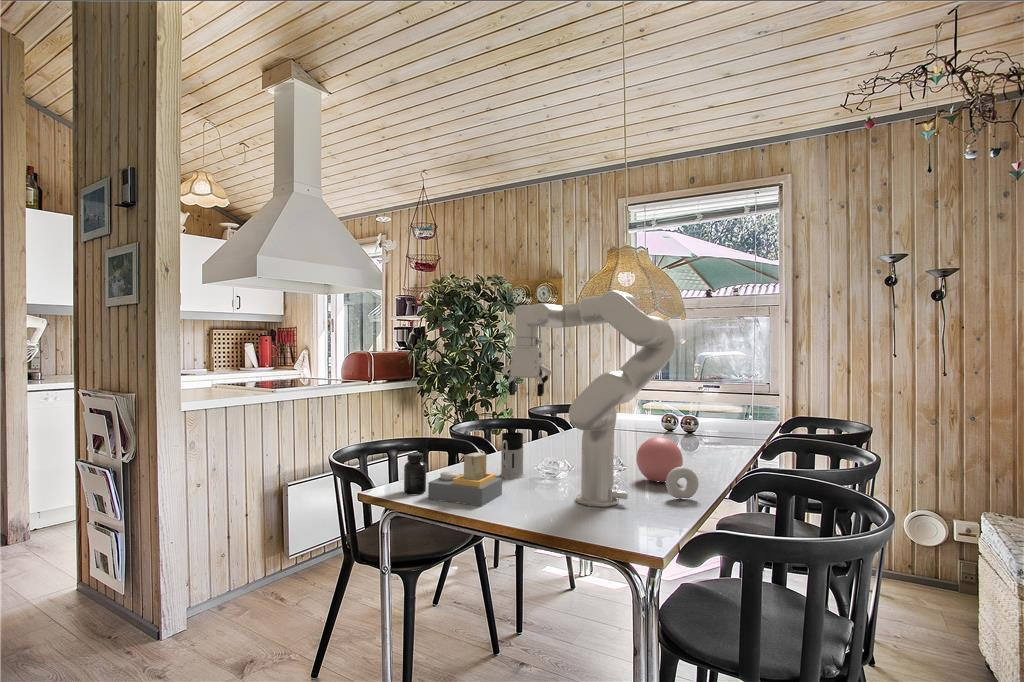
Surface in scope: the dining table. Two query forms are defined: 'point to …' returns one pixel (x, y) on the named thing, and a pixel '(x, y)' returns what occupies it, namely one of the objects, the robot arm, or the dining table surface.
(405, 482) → the supplement bottle
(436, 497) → the grey rectangular block
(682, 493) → the donut
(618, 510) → the dining table surface
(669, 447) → the pink ellipsoid
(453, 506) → the dining table surface
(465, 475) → the skincare box
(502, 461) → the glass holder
